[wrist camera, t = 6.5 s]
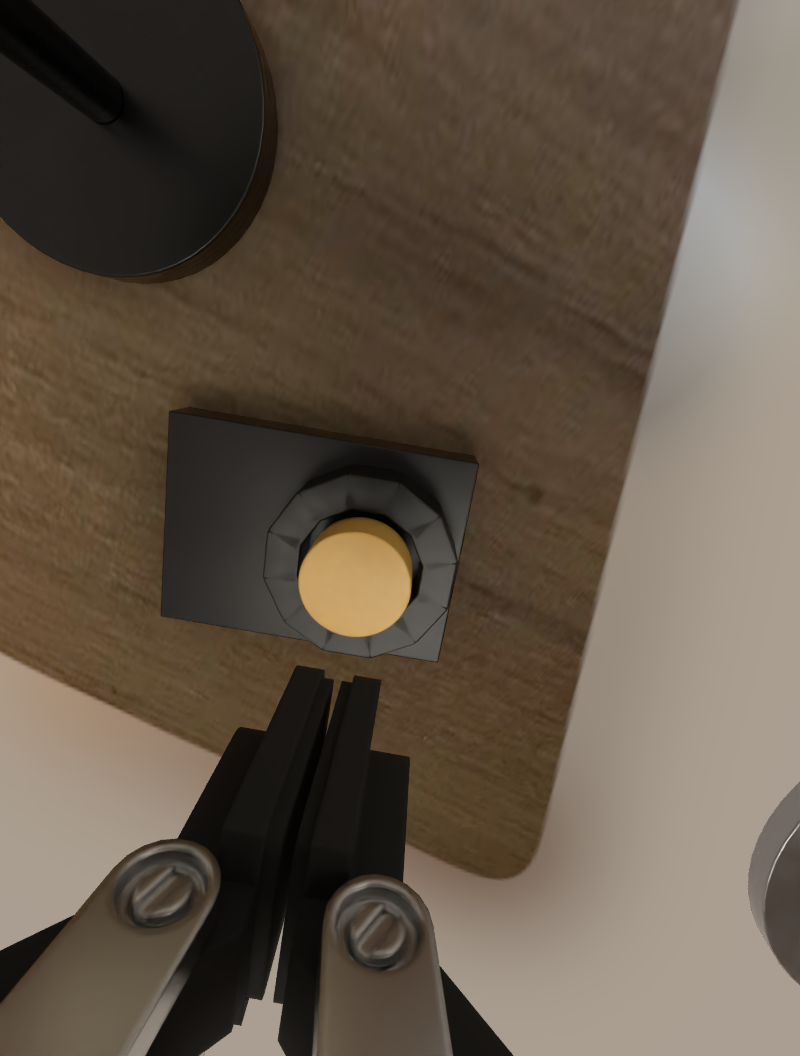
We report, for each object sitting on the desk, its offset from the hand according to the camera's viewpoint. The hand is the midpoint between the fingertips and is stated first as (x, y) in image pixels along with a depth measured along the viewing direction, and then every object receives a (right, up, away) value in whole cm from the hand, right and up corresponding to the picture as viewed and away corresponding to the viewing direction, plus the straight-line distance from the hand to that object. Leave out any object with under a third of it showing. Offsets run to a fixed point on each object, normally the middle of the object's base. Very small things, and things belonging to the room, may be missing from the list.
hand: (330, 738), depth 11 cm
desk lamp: (-8, +18, +8) cm, 21 cm away
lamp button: (0, +3, +8) cm, 9 cm away
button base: (-2, +4, +11) cm, 12 cm away
